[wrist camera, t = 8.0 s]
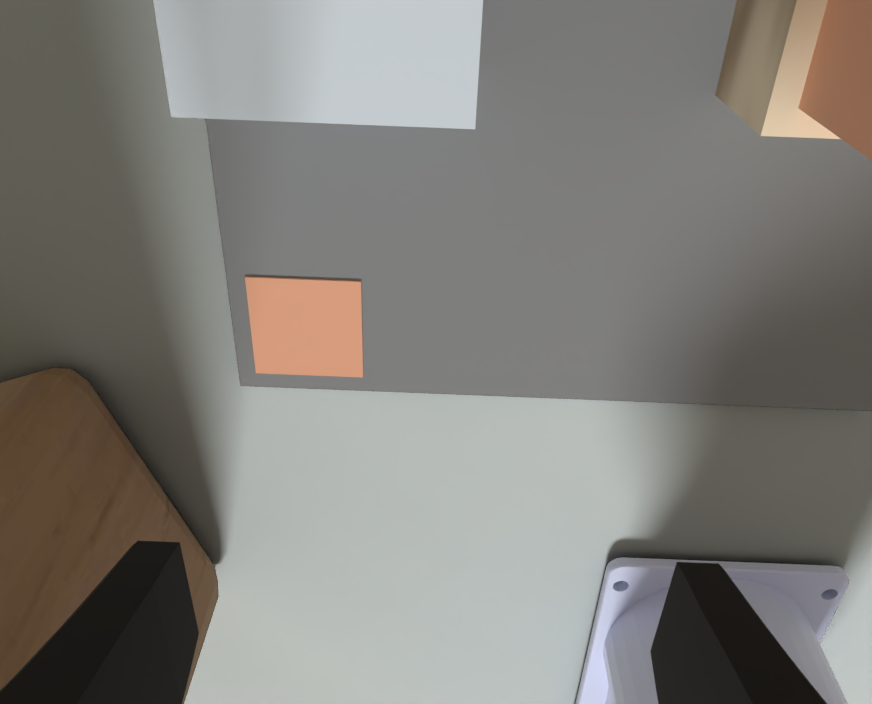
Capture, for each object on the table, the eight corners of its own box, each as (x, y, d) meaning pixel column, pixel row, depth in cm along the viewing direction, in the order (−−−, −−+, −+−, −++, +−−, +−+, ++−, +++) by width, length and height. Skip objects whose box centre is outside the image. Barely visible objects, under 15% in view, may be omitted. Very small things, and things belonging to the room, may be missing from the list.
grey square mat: (867, 402, 22) (875, 412, 22) (243, 377, 22) (239, 387, 22) (1180, -336, 13) (1202, -342, 13) (148, -378, 13) (139, -385, 13)
